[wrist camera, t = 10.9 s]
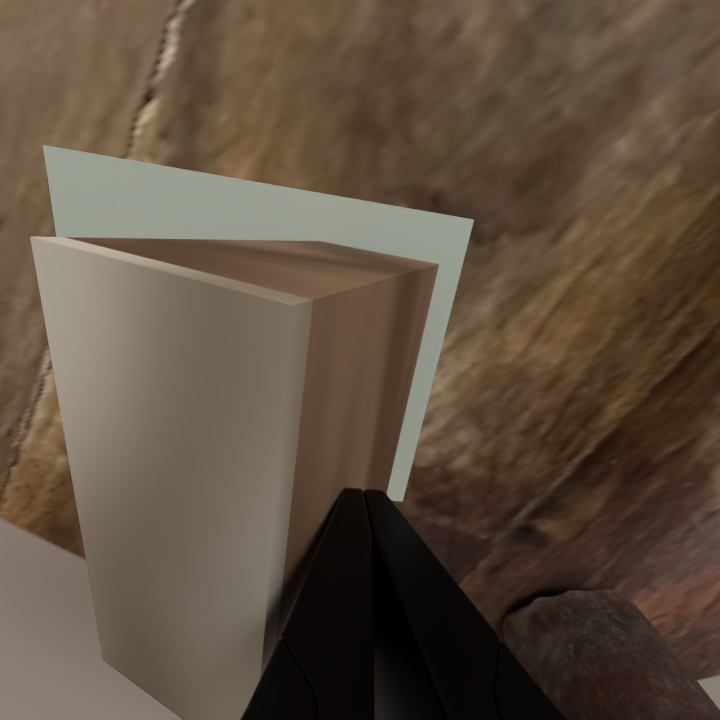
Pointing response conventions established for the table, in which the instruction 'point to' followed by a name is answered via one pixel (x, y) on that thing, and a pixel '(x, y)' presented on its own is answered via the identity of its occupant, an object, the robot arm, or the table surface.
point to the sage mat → (263, 236)
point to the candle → (603, 660)
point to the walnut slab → (220, 434)
